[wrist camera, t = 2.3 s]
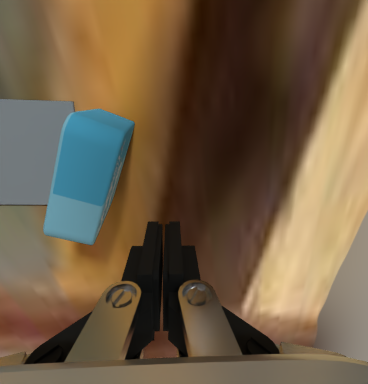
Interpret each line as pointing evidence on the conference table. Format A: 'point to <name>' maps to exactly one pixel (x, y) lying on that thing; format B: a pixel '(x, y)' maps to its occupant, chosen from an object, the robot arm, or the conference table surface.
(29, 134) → the felt pad
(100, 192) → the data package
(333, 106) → the conference table surface
